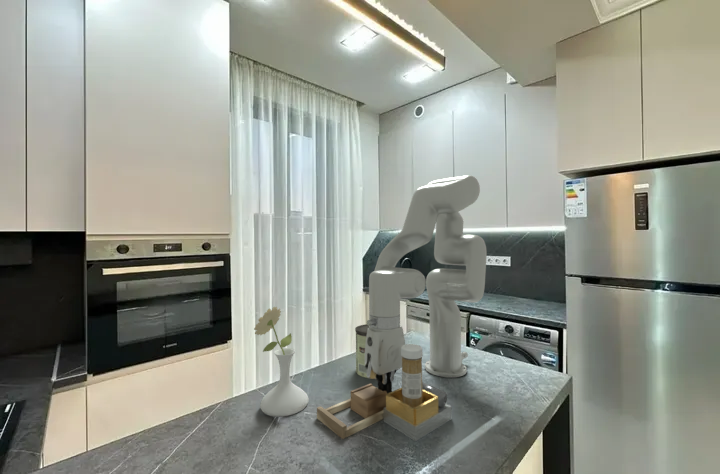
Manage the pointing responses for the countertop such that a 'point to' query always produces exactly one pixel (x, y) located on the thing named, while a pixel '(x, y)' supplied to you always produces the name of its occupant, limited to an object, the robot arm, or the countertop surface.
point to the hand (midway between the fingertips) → (384, 397)
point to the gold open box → (417, 412)
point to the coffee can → (361, 349)
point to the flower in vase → (285, 393)
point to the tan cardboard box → (368, 400)
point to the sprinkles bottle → (412, 374)
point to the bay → (339, 426)
